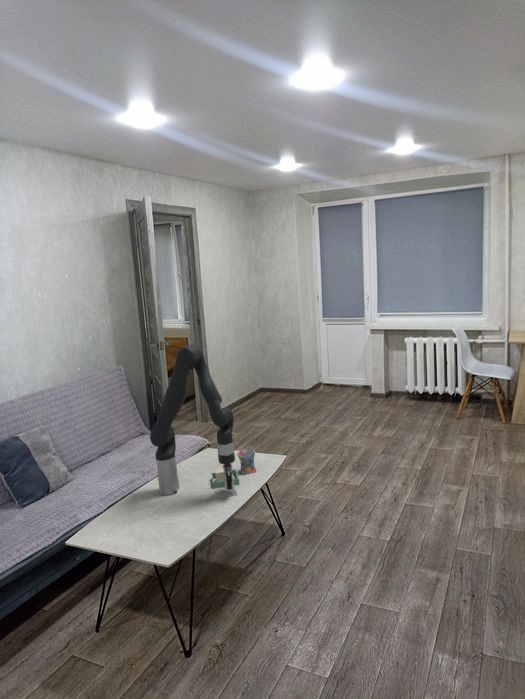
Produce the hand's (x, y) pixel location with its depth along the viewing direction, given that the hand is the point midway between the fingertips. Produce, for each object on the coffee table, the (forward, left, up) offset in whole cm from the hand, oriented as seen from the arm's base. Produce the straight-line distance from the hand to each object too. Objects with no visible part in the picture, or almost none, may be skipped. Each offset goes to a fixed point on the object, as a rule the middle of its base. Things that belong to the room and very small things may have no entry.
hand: (229, 487), depth 233 cm
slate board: (-2, 0, -4) cm, 5 cm away
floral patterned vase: (+12, +24, -4) cm, 28 cm away
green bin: (-1, +14, -4) cm, 15 cm away
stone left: (-3, +15, -4) cm, 15 cm away
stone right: (0, 0, -1) cm, 1 cm away
